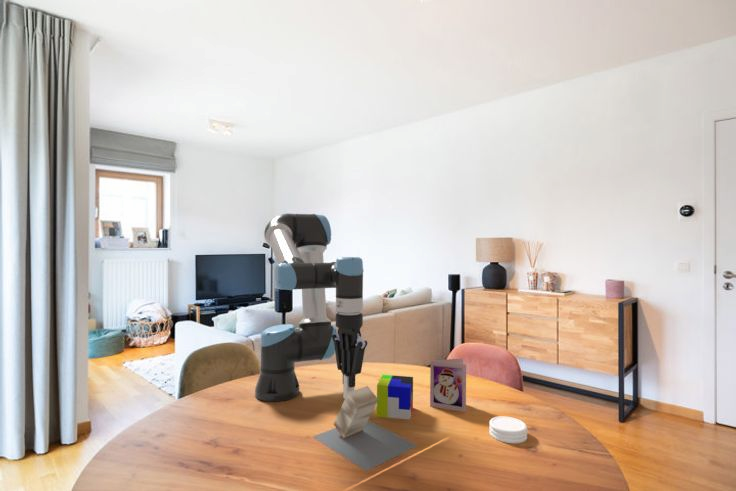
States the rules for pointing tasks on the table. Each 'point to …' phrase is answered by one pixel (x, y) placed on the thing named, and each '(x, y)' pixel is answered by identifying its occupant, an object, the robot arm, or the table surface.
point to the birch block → (355, 411)
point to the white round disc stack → (508, 429)
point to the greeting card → (448, 384)
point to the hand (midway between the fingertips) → (348, 397)
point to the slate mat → (366, 445)
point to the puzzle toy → (395, 396)
